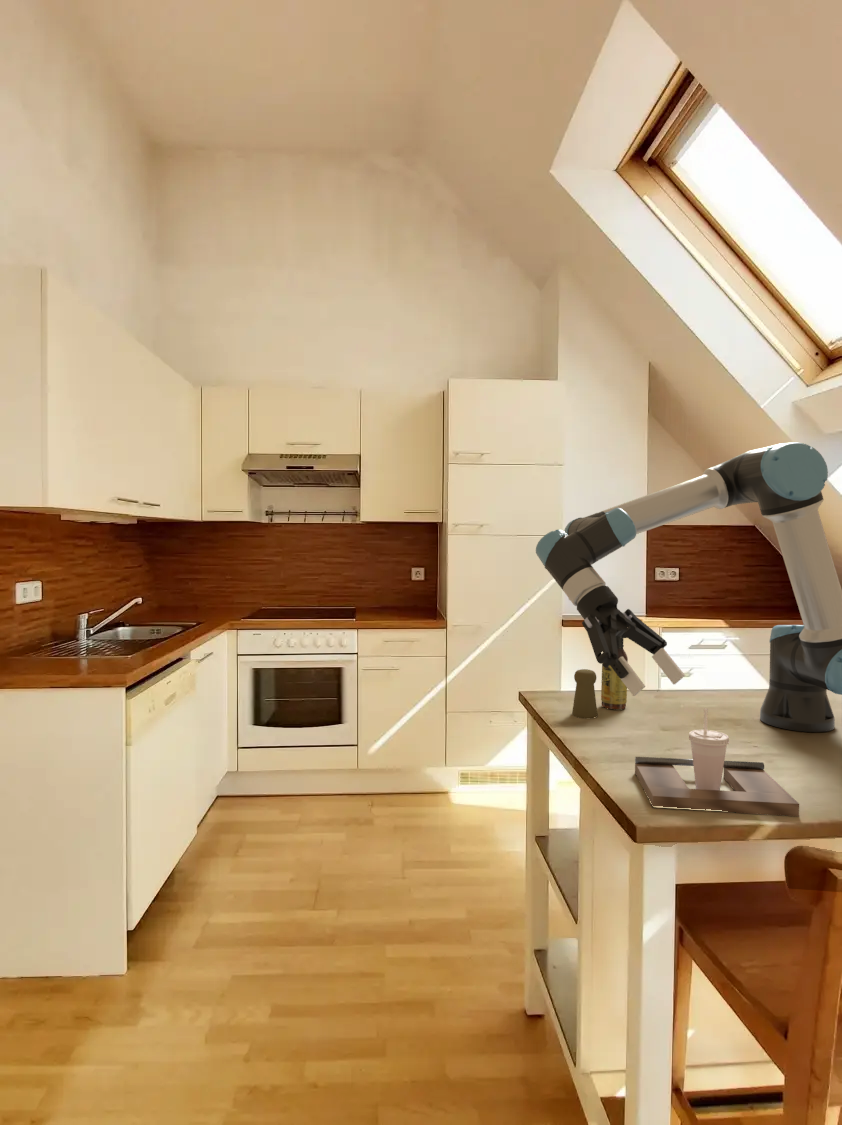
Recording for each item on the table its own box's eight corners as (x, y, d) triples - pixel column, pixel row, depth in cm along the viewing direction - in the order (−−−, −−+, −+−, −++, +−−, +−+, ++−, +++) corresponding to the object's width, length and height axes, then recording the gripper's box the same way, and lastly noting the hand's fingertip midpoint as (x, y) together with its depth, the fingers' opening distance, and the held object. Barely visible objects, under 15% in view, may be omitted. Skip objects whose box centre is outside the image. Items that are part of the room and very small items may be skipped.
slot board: (761, 779, 122) (761, 768, 121) (798, 816, 106) (799, 803, 106) (634, 773, 125) (635, 762, 124) (652, 808, 109) (652, 795, 109)
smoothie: (693, 781, 121) (694, 703, 120) (732, 789, 117) (733, 708, 116) (683, 792, 115) (684, 710, 115) (723, 800, 112) (725, 716, 111)
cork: (598, 719, 160) (599, 673, 160) (572, 717, 161) (572, 671, 161) (596, 712, 166) (597, 668, 166) (571, 711, 167) (572, 666, 167)
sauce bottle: (598, 704, 174) (599, 627, 173) (622, 704, 174) (624, 627, 173) (604, 711, 167) (605, 631, 167) (630, 711, 167) (631, 631, 166)
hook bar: (761, 768, 122) (761, 761, 122) (764, 770, 120) (764, 763, 120) (635, 762, 125) (635, 755, 124) (636, 764, 123) (636, 757, 123)
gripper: (615, 604, 143) (681, 687, 133) (539, 613, 127) (607, 708, 116) (638, 580, 139) (708, 664, 128) (562, 587, 123) (635, 683, 112)
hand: (660, 685), depth 122 cm, fingers open, 13 cm apart
